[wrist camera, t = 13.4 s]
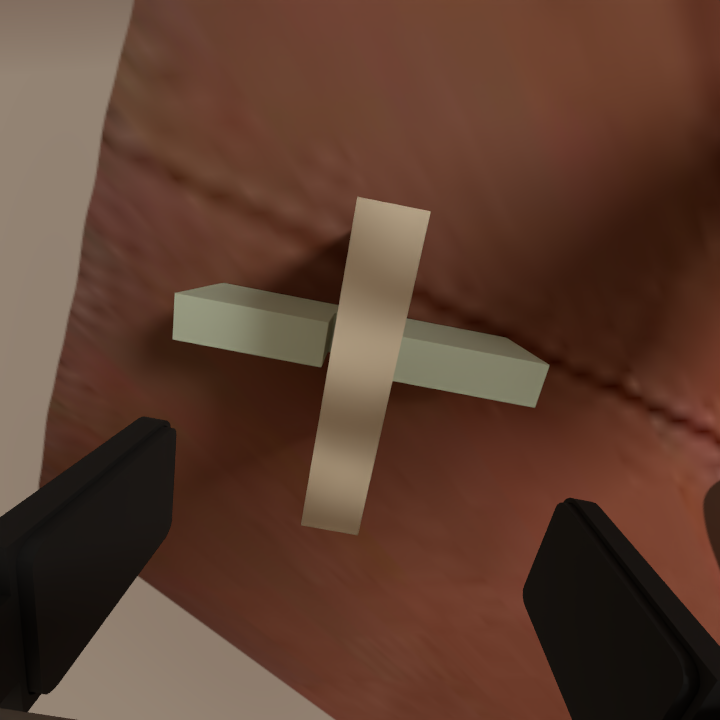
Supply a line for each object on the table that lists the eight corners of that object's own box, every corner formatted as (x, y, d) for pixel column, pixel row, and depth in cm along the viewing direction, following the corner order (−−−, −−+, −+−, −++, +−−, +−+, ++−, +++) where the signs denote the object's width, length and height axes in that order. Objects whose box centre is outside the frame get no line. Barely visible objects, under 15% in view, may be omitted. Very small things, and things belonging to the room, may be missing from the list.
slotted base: (506, 337, 32) (549, 365, 24) (496, 371, 33) (534, 407, 25) (223, 282, 31) (174, 292, 23) (220, 318, 32) (172, 339, 24)
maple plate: (363, 223, 29) (357, 196, 15) (401, 231, 30) (430, 211, 15) (330, 408, 34) (300, 525, 20) (363, 415, 34) (357, 535, 20)
